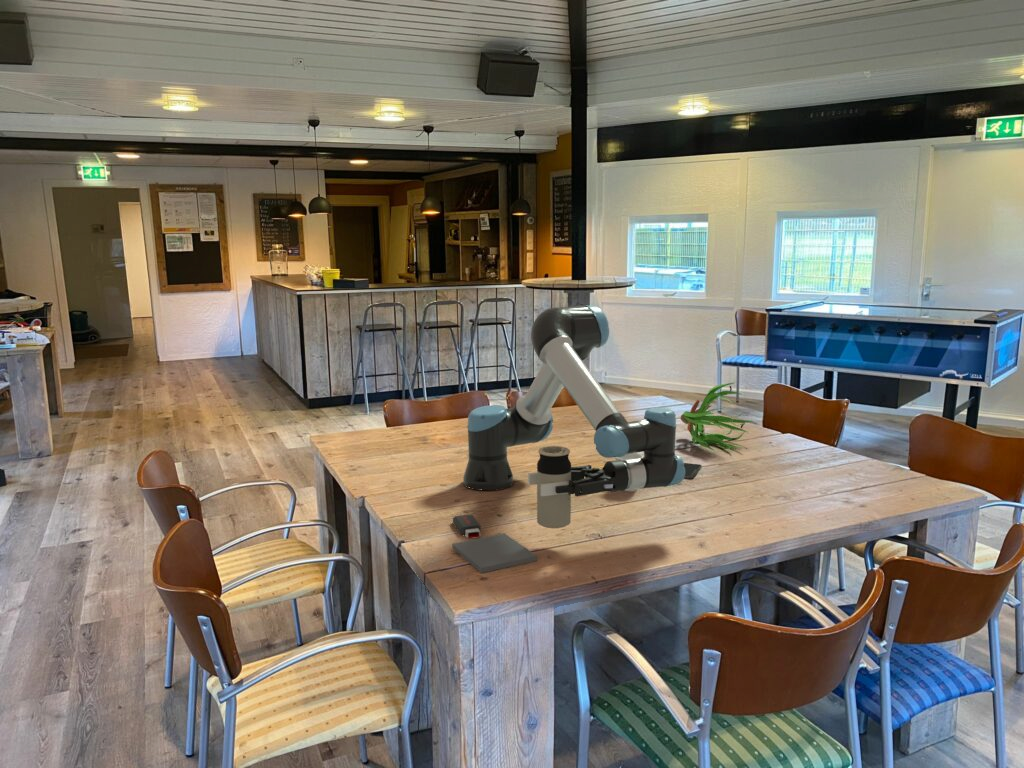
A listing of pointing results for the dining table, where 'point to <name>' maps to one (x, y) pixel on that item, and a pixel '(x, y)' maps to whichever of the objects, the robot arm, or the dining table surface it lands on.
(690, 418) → the decorative plant
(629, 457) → the dixie cup
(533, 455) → the dining table surface
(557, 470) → the travel mug
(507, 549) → the charcoal mat
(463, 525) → the usb drive
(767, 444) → the dining table surface
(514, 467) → the dining table surface
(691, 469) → the phone
